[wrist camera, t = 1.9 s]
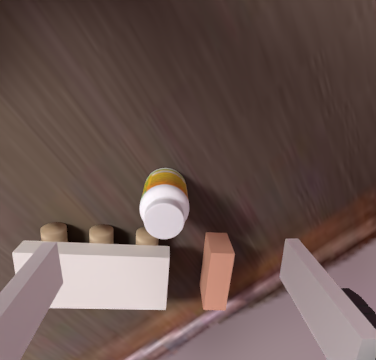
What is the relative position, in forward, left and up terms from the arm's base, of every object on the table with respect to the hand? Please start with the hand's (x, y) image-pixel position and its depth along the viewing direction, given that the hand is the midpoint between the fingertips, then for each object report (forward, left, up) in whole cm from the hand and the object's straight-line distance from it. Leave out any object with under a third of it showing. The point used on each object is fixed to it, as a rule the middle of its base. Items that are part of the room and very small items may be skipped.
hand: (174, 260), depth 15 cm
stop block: (+7, -14, -20) cm, 25 cm away
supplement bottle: (-1, -3, -20) cm, 20 cm away
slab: (-9, -14, -17) cm, 23 cm away
